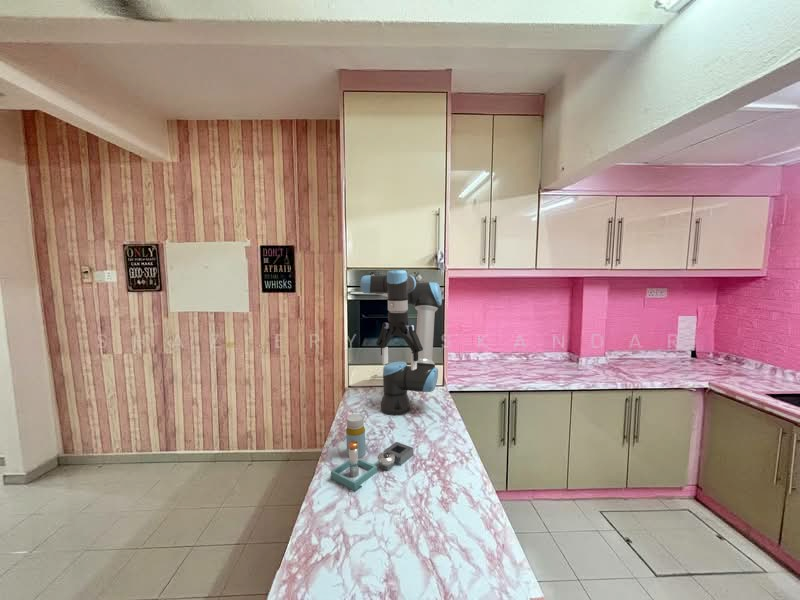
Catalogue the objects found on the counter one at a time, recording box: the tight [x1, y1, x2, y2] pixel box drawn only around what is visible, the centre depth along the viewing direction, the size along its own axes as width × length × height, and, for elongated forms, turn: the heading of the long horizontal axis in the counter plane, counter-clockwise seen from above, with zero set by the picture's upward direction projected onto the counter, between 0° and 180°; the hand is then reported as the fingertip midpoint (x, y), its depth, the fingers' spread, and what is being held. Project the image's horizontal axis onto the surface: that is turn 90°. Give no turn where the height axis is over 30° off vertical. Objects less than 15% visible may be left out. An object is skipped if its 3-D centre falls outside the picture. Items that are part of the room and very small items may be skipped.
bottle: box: [345, 413, 367, 459], centre depth 128 cm, size 7×7×15 cm
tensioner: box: [377, 441, 414, 472], centre depth 123 cm, size 14×8×5 cm, turn 143°
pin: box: [348, 441, 360, 478], centre depth 115 cm, size 3×3×12 cm
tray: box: [330, 458, 378, 493], centre depth 116 cm, size 11×11×3 cm
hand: (399, 366), depth 131 cm, fingers open, 13 cm apart
